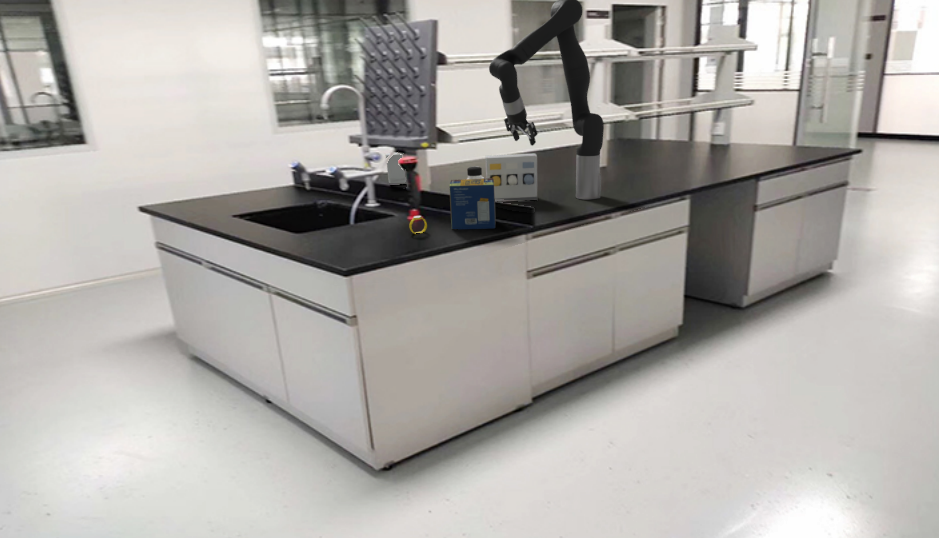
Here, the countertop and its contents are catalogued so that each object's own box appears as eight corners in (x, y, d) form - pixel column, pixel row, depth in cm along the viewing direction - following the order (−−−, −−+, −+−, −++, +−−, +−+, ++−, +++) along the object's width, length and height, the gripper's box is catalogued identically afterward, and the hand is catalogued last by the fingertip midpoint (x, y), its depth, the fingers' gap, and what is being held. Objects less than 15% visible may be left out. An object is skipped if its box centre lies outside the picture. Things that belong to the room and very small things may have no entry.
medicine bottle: (482, 197, 258) (481, 168, 254) (465, 197, 259) (464, 168, 255) (485, 193, 264) (484, 165, 260) (468, 193, 266) (467, 165, 262)
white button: (516, 183, 246) (516, 174, 245) (517, 185, 242) (517, 176, 241) (507, 183, 246) (507, 174, 245) (508, 185, 242) (508, 176, 241)
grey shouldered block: (405, 182, 293) (403, 151, 288) (407, 185, 288) (404, 153, 283) (388, 184, 292) (385, 153, 287) (389, 186, 286) (386, 154, 281)
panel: (535, 197, 253) (535, 153, 247) (537, 200, 247) (537, 155, 241) (487, 199, 253) (485, 155, 247) (487, 203, 247) (486, 158, 241)
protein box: (452, 222, 222) (450, 179, 216) (495, 220, 221) (494, 177, 216) (451, 230, 212) (448, 185, 207) (495, 228, 211) (494, 184, 206)
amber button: (500, 183, 246) (499, 174, 245) (500, 186, 242) (500, 177, 241) (491, 184, 246) (490, 175, 245) (491, 186, 242) (491, 177, 241)
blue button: (532, 182, 246) (532, 173, 245) (533, 184, 242) (533, 175, 241) (523, 182, 246) (523, 173, 245) (524, 185, 242) (524, 175, 241)
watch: (412, 236, 207) (410, 219, 205) (409, 234, 210) (407, 217, 208) (428, 232, 210) (426, 215, 208) (425, 230, 212) (423, 214, 210)
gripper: (534, 105, 229) (544, 140, 240) (507, 98, 238) (518, 132, 249) (522, 117, 226) (532, 151, 237) (494, 110, 235) (506, 143, 246)
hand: (525, 142), depth 243 cm, fingers open, 8 cm apart
